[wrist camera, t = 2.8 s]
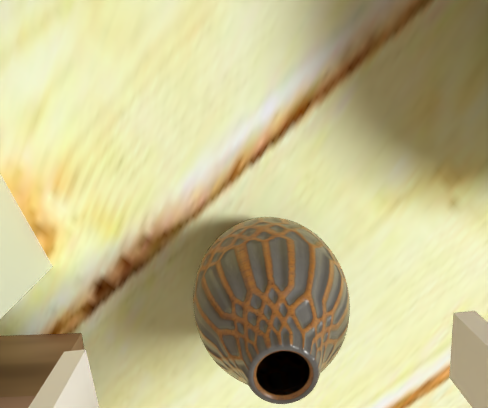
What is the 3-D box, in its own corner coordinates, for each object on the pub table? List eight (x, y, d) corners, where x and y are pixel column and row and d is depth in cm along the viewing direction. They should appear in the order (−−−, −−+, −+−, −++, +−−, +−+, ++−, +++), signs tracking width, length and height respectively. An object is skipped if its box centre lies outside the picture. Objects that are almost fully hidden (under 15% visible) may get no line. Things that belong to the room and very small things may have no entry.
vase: (236, 336, 23) (238, 483, 14) (176, 237, 21) (138, 339, 12) (346, 285, 22) (417, 409, 14) (294, 178, 20) (337, 245, 12)
